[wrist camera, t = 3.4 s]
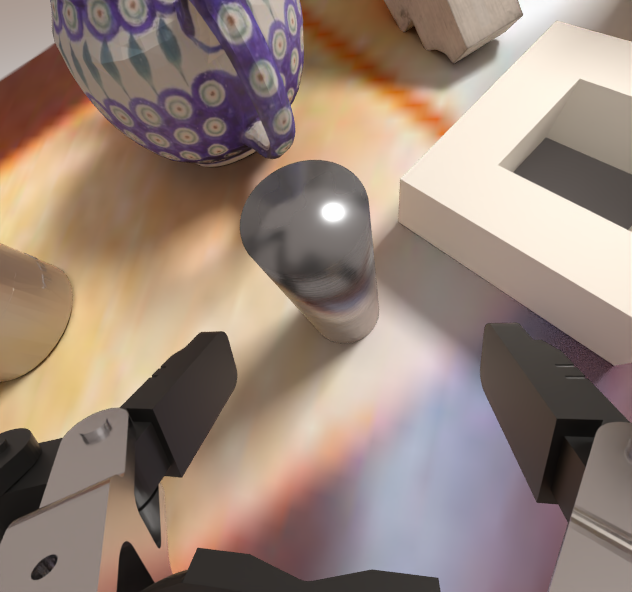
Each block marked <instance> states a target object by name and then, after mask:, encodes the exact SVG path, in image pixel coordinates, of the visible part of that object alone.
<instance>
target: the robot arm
mask: <svg viewBox="0 0 632 592" xmlns="http://www.w3.org/2000/svg"><path fill="white" fill-rule="evenodd" d="M72 298H73V294H72V288H71V284H70V282H69V279H68V277H67V276H66V275H65V274H64V272H63V271H62V270H60V269H58V268H57V267H55V266H53V265H50V264H48V263H46V262H43V261H41V260H38V259H37V258H35V257H33V256H30V255H28V254H26V253H22V252H20V251H17V250H15V249H13V248H10V247H8V246H5V245H3V244H1V243H0V382H3V381H9V380H13V379H15V378H18V377H20V376H22V375H24V374H26V373H27V372H29V371H30V370H32V369H33V368H35V367H36V366H37V365H38V364H39V363H40V362H41V361H43V360H44V359H45V358H46V357H47V356H48V354H49V353H50V352H51V351H52V349H53V348H54V347H55V346H56V344H57V342H58V341H59V339H60V337H61V336H62V334H63V332H64V330H65V328H66V325H67V323H68V320H69V317H70V313H71V309H72ZM480 377H481V383H482V387H483V390H484V392H485V395H486V397H487V399H488V401H489V403H490V405H491V407H492V409H493V411H494V413H495V416H496V418H497V420H498V422H499V424H500V426H501V428H502V430H503V432H504V435H505V437H506V439H507V441H508V443H509V445H510V447H511V449H512V451H513V453H514V456H515V458H516V460H517V462H518V464H519V466H520V468H521V470H522V472H523V474H524V477H525V479H526V481H527V483H528V485H529V487H530V489H531V491H532V493H533V496H534V498H535V500H536V502H537V503H548V504H558V505H559V507H560V508H561V510H562V512H563V514H564V516H565V518H566V520H567V521H568V525H567V528H566V532H565V535H564V538H563V542H562V545H561V548H560V552H559V555H558V558H557V562H556V565H555V568H554V572H553V575H552V578H551V582H550V585H549V588H548V592H632V423H630V422H629V421H628V420H627V419H626V418H625V417H624V416H623V415H622V414H621V413H620V412H619V410H618V409H617V408H616V407H615V406H614V405H613V404H612V403H611V402H610V401H609V400H608V399H607V398H606V397H605V396H604V395H603V394H602V393H601V392H600V391H599V390H598V389H597V388H596V387H595V386H594V385H593V384H592V383H591V382H590V380H589V379H585V375H584V374H583V373H582V372H581V371H580V370H579V369H578V368H577V367H574V364H573V363H572V362H571V361H570V360H569V359H568V358H567V357H566V356H565V355H564V354H563V353H562V352H561V351H560V350H558V349H557V348H555V347H553V346H551V345H549V344H548V343H546V342H544V341H542V340H533V339H532V338H531V337H530V336H529V334H528V333H527V332H526V331H525V330H524V329H523V328H522V326H521V325H520V324H518V323H488V324H486V326H485V329H484V336H483V346H482V356H481V366H480ZM236 382H237V369H236V365H235V362H234V358H233V354H232V351H231V347H230V343H229V340H228V337H227V335H226V333H225V332H222V331H220V332H201V333H199V334H198V335H197V336H196V337H195V338H194V339H193V340H192V341H191V342H190V343H189V344H188V345H187V346H186V347H185V348H183V349H182V350H180V351H179V352H177V353H175V354H174V355H172V356H171V357H170V358H169V359H168V360H167V361H166V362H165V363H164V364H163V365H162V366H161V369H158V370H157V371H156V372H155V373H154V374H153V375H152V378H149V379H148V380H147V381H146V382H145V383H144V384H143V385H142V386H141V387H140V388H139V389H138V390H137V391H136V392H135V393H134V394H133V395H132V396H131V397H130V398H129V399H128V400H127V401H126V402H125V403H124V404H123V405H122V406H121V407H120V408H110V409H106V410H102V411H99V412H97V413H95V414H92V415H90V416H88V417H87V418H85V419H83V420H82V421H80V422H79V423H77V424H76V425H75V426H74V427H72V428H71V429H70V430H69V431H68V432H67V433H66V435H65V436H64V437H63V438H60V439H56V440H51V441H47V442H42V443H38V442H37V441H36V439H35V438H34V436H33V434H32V433H31V431H30V430H28V429H25V428H19V429H13V430H9V431H6V432H3V433H1V434H0V592H440V586H439V580H438V578H435V577H427V576H419V575H411V574H403V573H395V572H387V571H379V570H367V571H362V572H357V573H352V574H346V575H341V576H336V577H331V578H326V579H320V580H315V581H302V580H300V579H298V578H296V577H294V576H292V575H290V574H288V573H286V572H284V571H282V570H280V569H278V568H276V567H274V566H272V565H270V564H268V563H266V562H264V561H262V560H260V559H258V558H256V557H254V556H252V555H250V554H243V553H235V552H227V551H219V550H211V549H203V548H197V550H196V553H195V555H194V557H193V559H192V562H191V564H190V566H189V568H188V570H185V571H182V572H179V573H176V574H172V571H171V567H170V562H169V554H168V540H167V525H166V510H165V495H164V489H163V487H162V484H161V482H160V481H161V480H162V478H163V477H164V476H170V477H183V475H184V473H185V472H186V470H187V468H188V466H189V465H190V463H191V461H192V460H193V458H194V456H195V455H196V453H197V451H198V450H199V448H200V446H201V444H202V443H203V441H204V439H205V438H206V436H207V434H208V433H209V431H210V429H211V427H212V426H213V424H214V422H215V421H216V419H217V417H218V416H219V414H220V412H221V411H222V409H223V407H224V405H225V404H226V402H227V400H228V399H229V397H230V395H231V394H232V392H233V390H234V388H235V386H236Z"/></svg>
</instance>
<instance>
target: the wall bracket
mask: <svg viewBox="0 0 632 592" xmlns="http://www.w3.org/2000/svg"><path fill="white" fill-rule="evenodd" d="M384 2H385V4H386V5H387V7H388V9H389V11H390V12H391V14H392V16H393V18H394V19H395V21H396V23H397V25H398V27H399V28H400V30H402V31H403V32H405V31H407V30H409V29H410V28H412V27H414V26H415V28H416V31H417V33H418V35H419V37H420V40H421V42H422V44H423V47H424V48H425V49H427V50H428V51H429V50H435V49H436V50H438V51H440V52H443V53H445V54H446V55H447V57H448V58H449V59H450V60H451V62H452V63H453V64H454V63H456V62H457V61H459V60H461V59H462V58H464V57H465V56H467V55H469V54H470V53H472V52H474V51H475V50H477V49H478V48H480V47H482V46H483V45H485V44H487V43H488V42H490V41H491V40H493V39H495V38H496V37H498V36H499V35H501V34H503V33H504V32H506V31H507V30H508V29H509V28H510V27H511V26H512V25H513V24H514V23H515V22H516V21H517V20H519V19H520V18H521V17H522V16H523V13H522V10H521V8H520V5H519V2H518V0H384Z"/></svg>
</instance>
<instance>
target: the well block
mask: <svg viewBox="0 0 632 592" xmlns="http://www.w3.org/2000/svg"><path fill="white" fill-rule="evenodd" d="M398 222H399V223H401V224H402V225H404V226H405V227H407V228H408V229H410V230H411V231H413V232H414V233H416V234H417V235H419V236H420V237H422V238H423V239H425V240H426V241H428V242H429V243H431V244H432V245H434V246H435V247H437V248H438V249H440V250H441V251H443V252H444V253H446V254H447V255H449V256H450V257H452V258H453V259H455V260H456V261H458V262H459V263H461V264H462V265H464V266H465V267H467V268H468V269H470V270H471V271H473V272H474V273H476V274H477V275H479V276H480V277H482V278H483V279H485V280H486V281H488V282H489V283H491V284H492V285H494V286H495V287H497V288H498V289H500V290H501V291H503V292H504V293H506V294H507V295H509V296H510V297H512V298H513V299H515V300H516V301H518V302H519V303H521V304H522V305H524V306H525V307H527V308H528V309H530V310H531V311H533V312H534V313H536V314H537V315H539V316H540V317H542V318H543V319H545V320H546V321H548V322H549V323H551V324H552V325H554V326H555V327H557V328H558V329H560V330H561V331H563V332H564V333H566V334H567V335H569V336H570V337H572V338H573V339H575V340H576V341H578V342H579V343H581V344H582V345H584V346H585V347H587V348H588V349H590V350H591V351H593V352H594V353H596V354H597V355H599V356H600V357H602V358H603V359H605V360H606V361H608V362H609V363H611V364H612V365H614V366H616V365H622V364H627V363H632V42H631V41H628V40H624V39H621V38H617V37H613V36H610V35H606V34H603V33H599V32H596V31H592V30H588V29H585V28H581V27H578V26H574V25H571V24H567V23H563V22H560V21H556V22H555V23H554V24H553V25H552V26H551V27H550V28H549V29H548V30H547V31H546V32H545V33H544V34H543V35H542V36H541V37H540V38H539V39H538V40H537V41H536V42H535V43H534V44H533V45H532V46H531V47H530V48H529V49H528V50H527V51H526V52H525V53H524V54H523V55H522V56H521V57H520V58H519V59H518V60H517V61H516V62H515V63H514V64H513V65H512V66H511V67H510V68H509V69H508V70H507V71H506V72H505V73H504V74H503V75H502V76H501V77H500V78H499V79H498V80H497V81H496V82H495V83H494V84H493V85H492V86H491V87H490V88H489V89H488V90H487V91H486V92H485V93H484V94H483V95H482V97H481V98H480V99H479V100H478V101H477V102H476V103H475V104H474V105H473V106H472V107H471V108H470V109H469V110H468V111H467V112H466V113H465V114H464V115H463V116H462V117H461V118H460V119H459V120H458V121H457V122H456V123H455V124H454V125H453V126H452V127H451V128H450V129H449V130H448V131H447V132H446V133H445V134H444V135H443V136H442V137H441V138H440V139H439V140H438V141H437V142H436V143H435V144H434V145H433V146H432V147H431V148H430V149H429V150H428V151H427V152H426V153H425V154H424V155H423V156H422V157H421V158H420V159H419V160H418V161H417V162H416V163H415V164H414V165H413V166H412V167H411V168H410V169H409V170H408V171H407V172H406V173H405V174H404V175H403V176H402V177H401V178H400V192H399V212H398Z"/></svg>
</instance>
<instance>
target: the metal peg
mask: <svg viewBox="0 0 632 592" xmlns="http://www.w3.org/2000/svg"><path fill="white" fill-rule="evenodd" d="M240 234H241V239H242V242H243V245H244V247H245V249H246V251H247V252H248V254H249V255H250V256H251V257H252V258H253V260H254V261H255V262H256V263H257V264H258V265H259V266H260V267H261V268H262V269H263V271H264V272H265V273H266V274H267V275H268V276H269V277H270V278H271V279H272V280H273V282H274V283H275V284H276V285H277V286H278V287H279V288H280V289H281V290H282V291H283V293H284V294H285V295H286V296H287V297H288V298H289V299H290V300H291V301H292V302H293V304H294V305H295V306H296V307H297V308H298V309H299V310H300V311H301V312H302V313H303V315H304V316H305V317H306V318H307V319H308V320H309V321H310V322H311V323H312V324H313V326H314V327H315V328H316V329H317V330H318V331H319V332H320V333H321V334H322V335H323V336H324V337H325V338H327V339H328V340H331V341H333V342H336V343H345V344H346V343H353V342H356V341H359V340H361V339H363V338H364V337H366V336H367V335H368V334H369V333H370V332H371V331H372V330H373V328H374V327H375V325H376V323H377V320H378V316H379V303H378V293H377V282H376V272H375V262H374V252H373V242H372V231H371V221H370V211H369V202H368V196H367V193H366V190H365V188H364V186H363V184H362V183H361V181H360V180H359V179H358V178H357V177H356V176H355V175H354V174H353V173H352V172H351V171H349V170H348V169H347V168H345V167H343V166H341V165H339V164H336V163H333V162H329V161H322V160H307V161H300V162H296V163H293V164H289V165H287V166H284V167H282V168H280V169H278V170H276V171H275V172H273V173H271V174H270V175H269V176H267V177H266V178H265V179H264V180H262V181H261V182H260V183H259V184H258V185H257V186H256V187H255V189H254V190H253V191H252V193H251V194H250V196H249V197H248V199H247V201H246V203H245V205H244V207H243V211H242V214H241V219H240Z"/></svg>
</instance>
